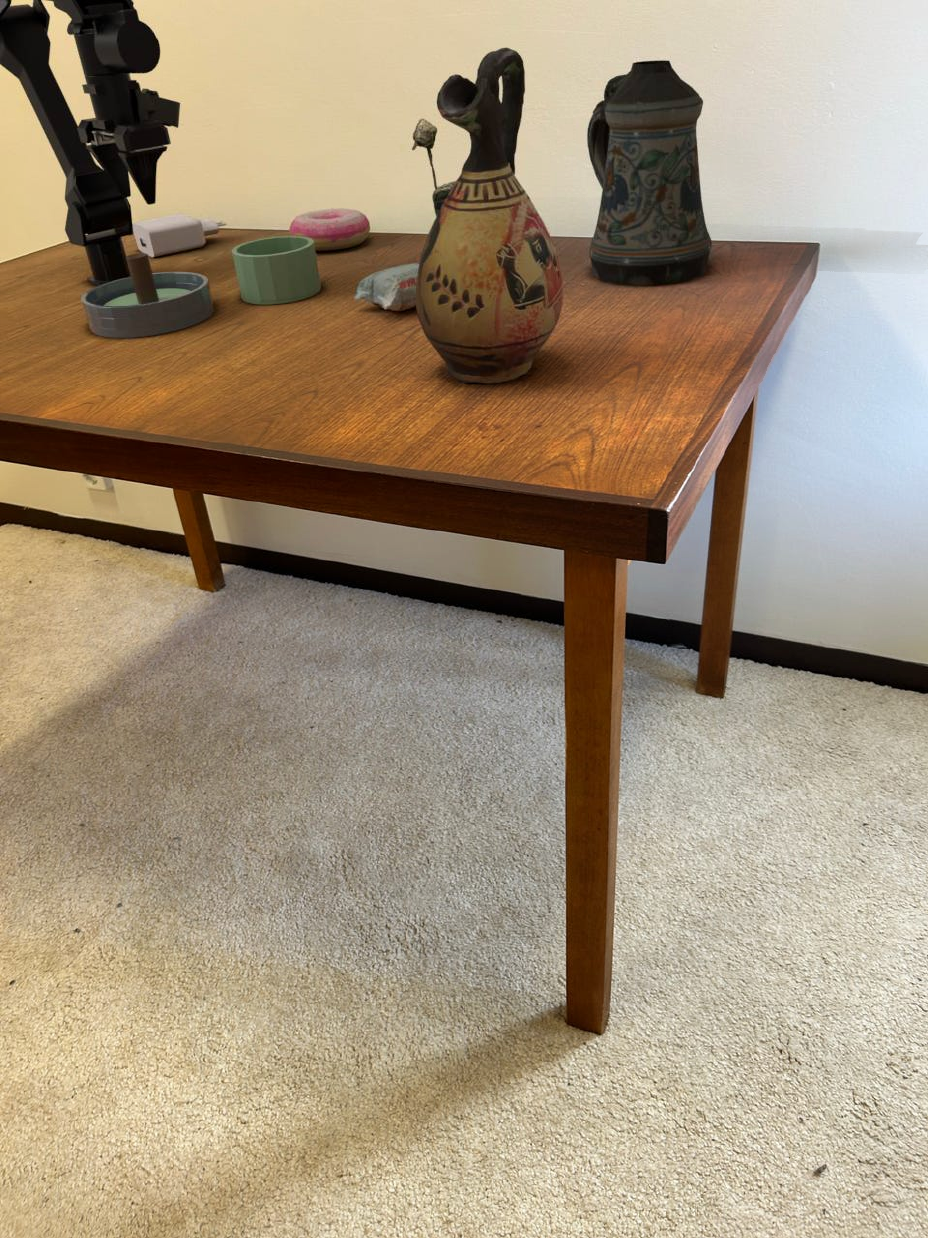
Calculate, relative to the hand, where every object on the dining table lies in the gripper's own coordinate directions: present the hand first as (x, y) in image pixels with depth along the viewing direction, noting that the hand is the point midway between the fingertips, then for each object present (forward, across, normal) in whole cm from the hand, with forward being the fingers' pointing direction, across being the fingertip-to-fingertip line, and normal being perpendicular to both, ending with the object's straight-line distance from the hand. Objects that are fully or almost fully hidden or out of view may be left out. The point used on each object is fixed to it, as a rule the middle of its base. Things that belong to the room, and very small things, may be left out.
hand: (139, 200), depth 133 cm
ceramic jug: (+13, -63, -13) cm, 66 cm away
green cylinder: (+13, -15, -12) cm, 23 cm away
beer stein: (+13, -48, -51) cm, 71 cm away
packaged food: (+13, -36, -20) cm, 43 cm away
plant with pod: (+13, -25, -36) cm, 46 cm away
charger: (+13, +27, -16) cm, 34 cm away
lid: (+11, -11, +6) cm, 17 cm away
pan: (+13, -11, +6) cm, 18 cm away
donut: (+13, +4, -32) cm, 35 cm away
